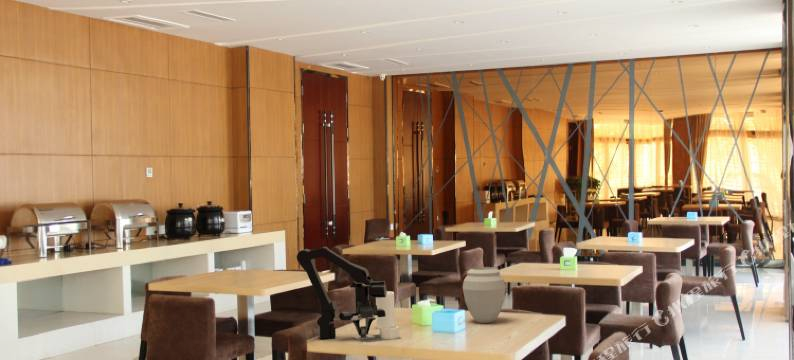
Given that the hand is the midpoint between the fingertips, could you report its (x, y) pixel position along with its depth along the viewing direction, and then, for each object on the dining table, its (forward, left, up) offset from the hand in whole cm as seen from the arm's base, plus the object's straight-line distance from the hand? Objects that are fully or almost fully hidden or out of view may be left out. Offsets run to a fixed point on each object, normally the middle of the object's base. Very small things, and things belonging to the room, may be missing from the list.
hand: (363, 335), depth 339 cm
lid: (0, 0, -1) cm, 1 cm away
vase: (+61, +9, -2) cm, 62 cm away
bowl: (+10, -7, -1) cm, 12 cm away
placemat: (+5, -4, -1) cm, 6 cm away
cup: (+16, +17, -2) cm, 24 cm away
